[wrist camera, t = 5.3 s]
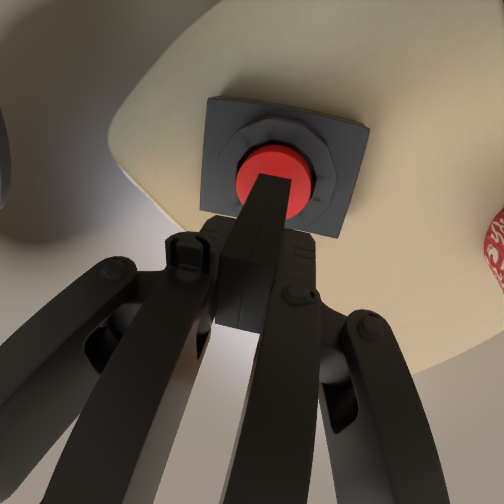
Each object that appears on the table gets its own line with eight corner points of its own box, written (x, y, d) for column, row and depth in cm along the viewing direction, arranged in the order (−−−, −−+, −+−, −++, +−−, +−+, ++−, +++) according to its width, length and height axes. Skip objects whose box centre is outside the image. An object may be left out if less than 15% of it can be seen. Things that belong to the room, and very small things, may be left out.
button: (238, 201, 17) (232, 213, 16) (246, 138, 15) (240, 145, 13) (302, 214, 17) (302, 228, 16) (317, 152, 15) (318, 160, 13)
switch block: (208, 198, 21) (190, 222, 18) (217, 96, 17) (196, 100, 14) (335, 224, 21) (340, 254, 18) (363, 123, 16) (377, 134, 13)
